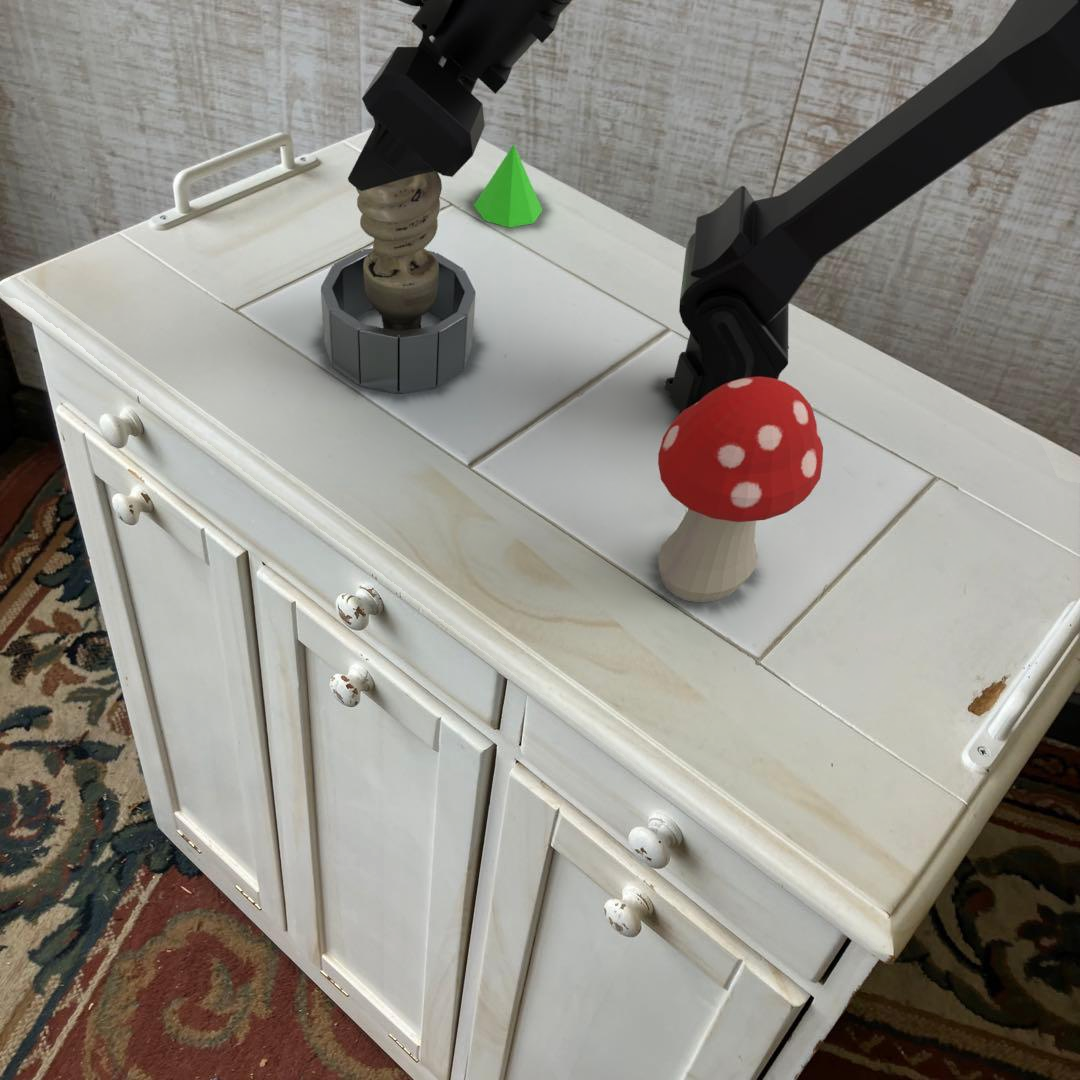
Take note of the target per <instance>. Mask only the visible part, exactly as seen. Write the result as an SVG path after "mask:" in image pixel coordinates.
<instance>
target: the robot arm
mask: <svg viewBox="0 0 1080 1080" xmlns="http://www.w3.org/2000/svg"><path fill="white" fill-rule="evenodd" d="M398 1H399V2H401V3H404V4H405V5H408V6H411V7H419V9H418V10H417V12H416V13H415V14H414V16H413V18H412V19H411V23H412V24H413V25H414V26H416V27H417V28H418V29H419V30H420V31H421V33H422V36H421V39H420V41H419V43H418V45H417V46H396V47H395V49H394V50H393V51H392V52H391V54H390V55H389V56H388V58H387V59H386V60H385V61H384V62H383V64H382V66H380V69H379V70H378V71H377V73H376V74H375V75H374V77H373V78H372V80H371V82H370V84H369V85H368V87H367V89H366V91H365V93H364V94H363V96H362V97H361V100H362V102H363V104H364V107H365V109H366V111H367V112H368V114H369V115H370V116H371V117H372V118H373V122H374V126H373V128H372V130H371V132H370V134H369V135H368V137H367V139H366V141H365V144H364V145H363V147H362V149H361V152H360V153H359V155H358V157H357V159H356V161H355V163H354V165H353V167H352V169H351V171H350V173H349V175H348V177H347V182H348V183H350V185H352V186H353V187H354V188H355V189H356V188H357V189H358V190H360V191H365V190H368V189H371V188H374V187H378V186H381V185H384V184H388V183H391V182H394V181H398V180H401V179H405V178H408V177H412V176H416V175H420V174H425V173H429V172H434V171H436V172H438V174H439V175H441V176H443V177H450V178H453V177H454V176H455V175H456V174H457V173H458V172H459V171H460V170H461V169H462V167H464V166H465V164H466V163H467V162H468V161H469V160H470V159H471V158H472V157H473V156H474V153H475V151H476V149H477V146H478V143H479V141H480V138H481V137H482V134H483V131H484V129H485V126H486V124H485V114H484V105H483V103H482V102H481V101H480V100H479V99H478V98H477V97H476V96H475V95H474V94H473V92H474V91H473V90H474V88H475V86H476V84H477V82H478V80H480V81H481V83H483V84H484V85H485V86H486V87H487V88H488V89H489V90H490V91H492V92H493V94H494V95H497V93H498V92H499V91H501V89H502V88H503V87H504V86H505V84H507V82H508V80H509V77H510V74H511V72H512V69H513V66H514V65H515V64H517V62H518V61H519V60H520V58H521V57H522V56H523V55H524V54H525V53H526V52H527V51H528V50H529V49H530V48H531V46H532V45H534V43H535V42H536V41H537V40H538V41H539V42H540V43H541V44H543V43H544V42H545V41H546V40H547V39H548V38H549V37H550V35H552V33H553V32H554V31H555V30H556V27H557V24H558V20H559V18H560V16H561V13H563V11H565V9H566V8H567V7H568V6H569V5H570V4H571V2H572V1H573V0H398ZM1079 101H1080V0H1015V1H1014V2H1013V4H1012V5H1011V7H1010V8H1009V9H1008V10H1007V12H1006V14H1005V15H1004V17H1003V18H1002V19H1001V21H1000V23H999V24H998V25H997V27H996V28H995V30H994V31H992V33H991V34H990V35H989V36H988V37H987V38H986V39H985V40H984V41H983V42H982V43H980V44H979V45H978V46H976V47H975V48H974V49H973V50H971V51H970V52H968V54H966V55H965V56H963V57H962V58H961V59H959V60H958V61H957V62H955V63H954V64H953V65H951V66H950V67H949V68H948V69H946V70H945V71H944V72H942V73H941V74H939V75H938V76H937V77H936V78H934V79H933V80H932V81H931V82H929V83H928V84H927V85H926V86H924V87H923V88H921V89H920V90H919V91H917V92H916V93H915V94H914V95H912V96H911V97H909V98H908V99H907V100H905V102H903V103H902V104H900V105H899V106H897V107H896V108H895V109H893V111H891V112H890V113H889V114H887V115H886V116H885V117H883V118H882V119H880V120H879V121H878V122H877V123H875V124H874V125H873V126H871V127H870V128H869V129H868V130H866V131H865V132H863V133H862V134H861V135H860V136H858V137H856V139H854V140H853V141H851V142H850V143H849V144H848V145H846V146H845V147H844V148H842V149H841V150H840V151H838V152H837V153H836V154H834V155H833V156H832V157H830V158H829V159H828V160H826V161H825V162H824V163H823V164H821V165H820V166H818V167H817V168H815V170H813V171H812V172H811V173H809V174H808V175H806V177H804V178H803V179H802V180H799V182H797V183H796V184H795V185H793V186H792V187H790V188H789V189H788V190H786V191H785V192H783V193H780V194H778V195H774V196H771V197H766V198H765V197H764V198H762V199H761V198H760V199H756V200H754V198H753V196H752V195H751V193H750V192H749V190H748V189H747V187H746V186H745V185H741V186H740V187H738V188H737V189H735V190H734V191H733V192H732V193H731V194H730V195H729V196H728V198H726V200H725V201H724V202H722V204H721V205H720V206H719V207H717V208H715V209H714V210H712V211H711V212H709V213H706V214H705V213H704V214H703V215H698V216H697V217H696V220H695V230H694V233H693V234H692V235H691V236H690V237H689V240H688V241H687V244H686V247H685V254H684V262H683V269H682V270H683V271H682V280H681V288H680V296H679V306H678V307H679V309H678V313H679V315H680V319H681V322H682V324H683V325H684V327H685V328H686V329H687V330H688V332H689V335H688V340H687V343H686V347H685V351H681V352H680V354H679V356H678V360H677V364H676V367H675V372H674V375H673V377H667V378H666V379H665V381H664V388H665V389H666V391H667V393H668V394H669V398H670V399H671V401H672V402H673V404H674V406H675V407H676V409H677V411H678V412H679V415H680V414H681V412H682V411H683V410H685V409H687V408H689V407H690V406H692V405H694V404H695V403H697V402H699V401H700V400H701V399H702V398H703V397H704V396H705V395H707V394H708V393H709V392H711V391H713V390H715V389H716V388H718V387H720V386H722V385H724V384H726V383H728V382H731V381H734V380H738V379H741V378H747V377H768V378H774V379H777V380H779V378H780V375H781V373H782V372H783V371H784V369H786V367H787V366H788V364H789V349H790V346H789V306H790V305H789V304H790V303H791V301H792V300H793V298H794V297H795V296H796V294H797V293H798V292H799V290H800V288H801V287H802V285H803V284H804V283H805V282H806V280H807V279H808V277H809V276H810V274H811V273H812V271H813V270H814V268H815V267H817V265H818V263H820V262H821V260H822V259H824V258H825V257H827V256H828V255H830V254H831V253H832V252H834V251H835V250H837V249H838V248H839V247H841V246H842V245H844V244H845V243H846V242H849V240H851V239H852V238H854V237H855V236H857V235H859V233H861V232H862V231H864V230H865V229H867V228H868V227H869V226H871V225H873V224H874V223H876V222H877V221H878V220H880V219H882V218H883V217H884V216H886V215H887V214H888V213H890V212H892V211H893V210H894V209H896V208H897V207H899V206H900V205H902V204H903V203H904V202H905V201H907V200H908V199H910V198H911V197H913V196H914V195H916V194H917V193H918V192H920V191H921V190H923V189H925V188H926V187H927V186H929V185H930V184H932V183H933V182H935V181H936V180H937V179H939V178H940V177H942V176H943V175H945V174H946V173H947V172H949V171H951V169H953V168H955V167H956V166H958V165H959V164H960V163H962V162H963V161H964V160H966V159H968V158H969V157H970V156H972V155H973V154H974V153H976V152H977V151H979V150H980V149H982V148H983V147H985V146H986V145H988V144H989V143H990V142H992V141H994V140H995V139H996V138H998V137H999V136H1001V135H1002V134H1003V133H1005V132H1006V131H1008V130H1009V129H1011V128H1013V126H1015V125H1016V124H1018V123H1019V122H1021V121H1022V120H1024V119H1026V117H1028V116H1030V115H1032V114H1034V113H1036V112H1038V111H1041V110H1045V109H1050V108H1054V107H1058V106H1061V105H1062V106H1063V105H1067V104H1071V103H1076V102H1079Z"/></svg>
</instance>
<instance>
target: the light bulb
mask: <svg viewBox="0 0 1080 1080" xmlns="http://www.w3.org/2000/svg"><path fill="white" fill-rule="evenodd" d="M442 184H443V183H442V180H441V177H440V173H438V172H436V171H434V172H429V173H425V174H420V175H416V176H412V177H408V178H405V179H401V180H398V181H394V182H391V183H388V184H384V185H381V186H378V187H374V188H371V189H368V190H365V191H360V190H358V189H357V188H356V187H355V190H356V192H357V193H358V196H357V199H356V206H357V208H358V210H359V212H360V213H361V216H360V218H359V225H360V228H361V229H362V231H363V232H364V233H365V234H366V235H367V236H369V237H370V238H373V244H372V248H373V249H374V250H373V251H372V252H371V253H370V254H368V255H367V256H366V258H365V260H364V264H363V270H364V285H365V293H366V296H367V298H368V301H369V302H370V304H371V305H372V307H373V308H374V310H375V311H376V312H377V313H378V314H379V316H381V323H382V328H386V329H391V330H396V331H403V330H410V329H417V328H422V318H423V316H425V314H426V313H428V312H427V311H428V310H429V309H430V308H431V307H432V306H433V304H434V302H435V299H436V296H437V290H438V278H439V265H438V262H437V259H436V258H435V256H434V255H433V254H432V253H431V252H429V251H430V250H428V249H425V248H426V247H427V246H428V245H429V244H430V243H431V242H432V241H433V239H434V238H435V236H436V234H437V231H438V227H439V226H438V225H439V223H438V222H439V221H438V217H439V214H440V210H441V200H440V198H441V195H442V190H443V185H442Z"/></svg>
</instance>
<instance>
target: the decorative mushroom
mask: <svg viewBox="0 0 1080 1080" xmlns="http://www.w3.org/2000/svg"><path fill="white" fill-rule="evenodd" d="M823 458H824V445H823V443H822V440H821V436H820V432H819V429H818V424H817V420H816V417H815V413H814V410H813V408H812V406H811V404H810V402H809V401H808V400H807V399H806V397H805V396H804V395H803V394H802V393H801V391H800V390H799V389H797V388H796V387H794V386H792V385H791V384H789V383H787V382H785V381H784V380H780V379H778V380H777V379H774V378H768V377H747V378H741V379H738V380H734V381H731V382H728V383H726V384H724V385H722V386H720V387H718V388H716V389H715V390H713V391H711V392H709V393H708V394H707V395H705V396H704V397H703V398H702V399H701V400H700V401H699V402H697V403H695V404H694V405H692V406H690V407H689V408H687V409H685V410H683V411H682V412H681V414H680V413H679V415H678V416H677V417H676V418H675V419H674V421H672V423H671V424H670V426H669V427H668V429H667V430H666V431H665V433H664V435H663V436H662V439H661V444H660V447H659V450H658V457H657V459H658V460H657V463H658V470H659V476H660V481H661V482H662V484H663V485H664V487H665V489H666V490H667V491H668V493H669V495H670V496H671V497H672V498H674V499H675V500H676V501H677V502H679V503H680V504H681V505H683V506H684V507H686V509H687V511H686V512H685V514H684V516H683V519H682V520H681V522H680V523H679V525H678V527H677V528H676V530H675V531H674V532H673V533H672V534H670V536H668V538H667V539H666V540H665V541H664V543H662V545H661V546H660V549H659V552H658V555H657V564H658V570H659V575H660V581H661V582H662V583H663V586H664V587H665V589H666V590H667V591H668V592H669V593H671V594H672V595H674V597H677V598H679V599H683V600H685V601H688V602H693V603H694V602H696V603H706V602H714V601H717V600H721V599H724V598H727V597H729V596H730V595H731V594H732V593H734V592H736V590H738V589H740V587H741V586H742V585H743V584H744V583H745V582H746V581H747V580H748V578H749V577H750V576H751V575H752V574H753V572H754V571H755V569H756V566H757V562H758V559H759V556H758V550H757V545H756V542H755V537H756V526H757V522H758V521H766V520H769V519H772V518H775V517H778V516H780V515H784V514H786V513H788V512H790V511H791V510H793V509H795V508H796V507H797V506H798V505H800V504H801V503H803V502H804V501H805V500H806V499H807V498H808V497H809V496H810V494H811V493H812V492H813V490H814V489H815V487H816V486H817V484H818V483H819V481H820V480H821V475H822V469H823V461H824V460H823Z"/></svg>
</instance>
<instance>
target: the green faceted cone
mask: <svg viewBox="0 0 1080 1080" xmlns="http://www.w3.org/2000/svg"><path fill="white" fill-rule="evenodd" d="M473 207H474V209H475V210H476V211H477V213H478V214H479V215H480V217H481V218H482V219H483V221H486V222H489V223H492V224H496V225H499V226H502V227H505V228H515V227H520V226H526V225H532V224H534V223H535V222H536V220H537V219H538V218H539V216H540V215H541V213H542V212H543V208H542V206H541V203H540V201H539V199H538V197H537V195H536V192H535V189H534V186H533V185H532V183H531V180H530V178H529V176H528V174H527V171H526V169H525V166H524V164H523V162H522V159H521V157H520V154H519V152H518V150H517V147H516V146H515V144H514V143H513V144H512V146H511V147H510V149H509V151H508V152H507V153H506V155H505V157H504V158H503V159H502V161H501V163H500V165H499V166H498V168H497V169H496V170H495V172H494V174H492V177H491V178H490V180H489V182H488V183H487V185H486V186H485V187H484V189H483V190H482V192H481V194H480V195H479V197H478V199H477V200H476V201H475V203H474V204H473Z"/></svg>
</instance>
